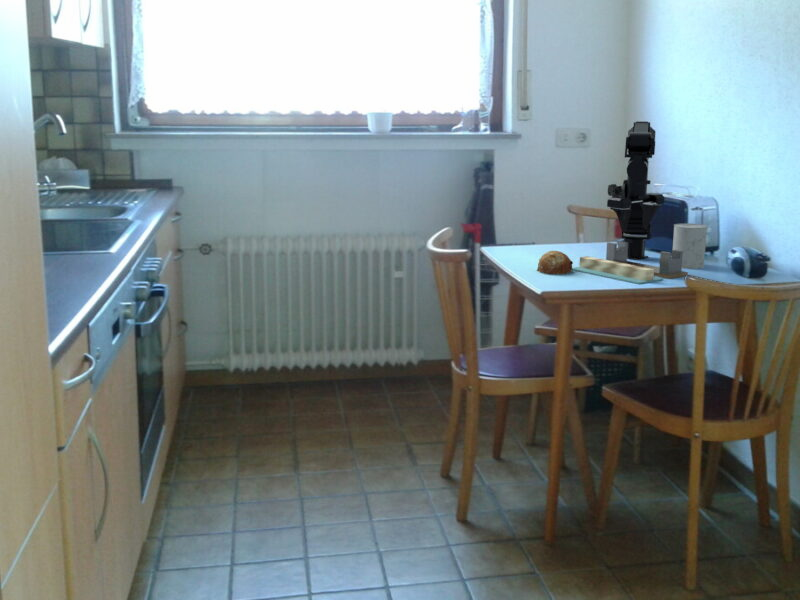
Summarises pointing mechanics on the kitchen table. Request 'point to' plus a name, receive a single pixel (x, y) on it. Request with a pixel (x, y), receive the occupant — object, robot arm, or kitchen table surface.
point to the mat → (614, 276)
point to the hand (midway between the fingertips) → (634, 229)
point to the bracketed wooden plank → (667, 269)
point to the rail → (617, 268)
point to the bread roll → (554, 263)
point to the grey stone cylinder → (690, 244)
